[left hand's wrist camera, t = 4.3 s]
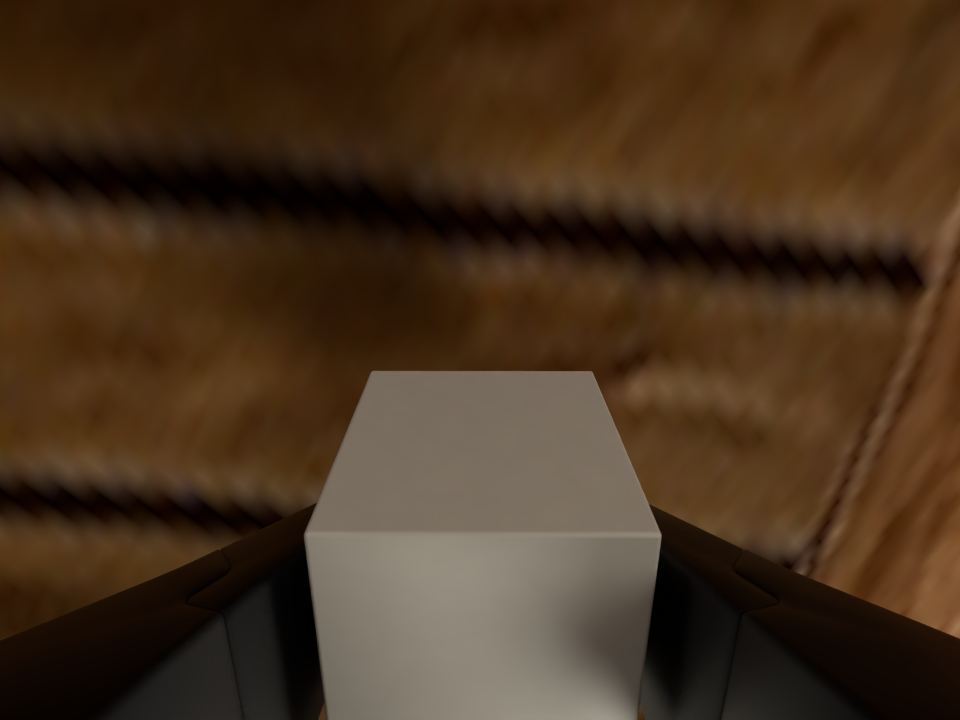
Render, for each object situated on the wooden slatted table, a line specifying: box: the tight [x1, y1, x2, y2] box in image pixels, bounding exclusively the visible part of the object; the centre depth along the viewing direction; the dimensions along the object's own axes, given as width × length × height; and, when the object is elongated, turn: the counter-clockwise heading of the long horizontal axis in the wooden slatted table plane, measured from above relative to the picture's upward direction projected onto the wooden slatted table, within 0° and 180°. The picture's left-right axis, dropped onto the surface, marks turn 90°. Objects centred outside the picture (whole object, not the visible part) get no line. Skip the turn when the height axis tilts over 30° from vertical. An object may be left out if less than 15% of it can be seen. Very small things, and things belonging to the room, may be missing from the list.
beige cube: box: [304, 371, 662, 720], centre depth 10 cm, size 4×5×5 cm
